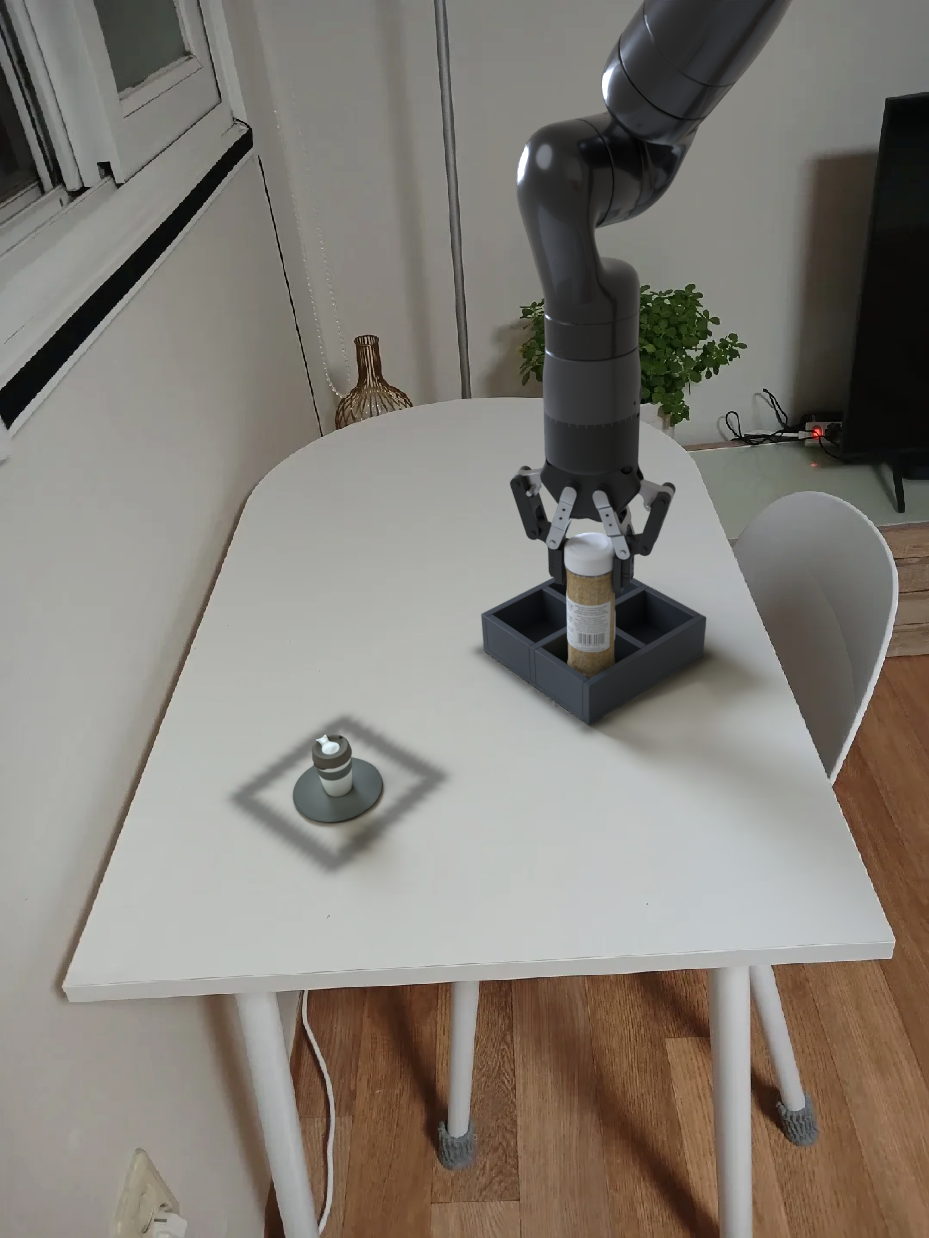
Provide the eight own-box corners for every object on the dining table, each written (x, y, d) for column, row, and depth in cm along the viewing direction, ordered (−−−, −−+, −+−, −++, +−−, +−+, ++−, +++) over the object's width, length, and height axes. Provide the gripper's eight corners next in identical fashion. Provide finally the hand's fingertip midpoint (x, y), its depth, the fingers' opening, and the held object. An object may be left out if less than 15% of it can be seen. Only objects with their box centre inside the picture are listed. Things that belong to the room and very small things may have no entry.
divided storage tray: (703, 655, 94) (706, 617, 91) (588, 725, 86) (589, 686, 84) (593, 592, 104) (594, 556, 101) (483, 650, 97) (480, 613, 94)
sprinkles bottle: (621, 657, 90) (623, 534, 83) (607, 686, 87) (608, 561, 79) (574, 648, 92) (573, 527, 84) (559, 676, 89) (556, 552, 81)
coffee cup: (335, 863, 75) (325, 820, 73) (241, 797, 82) (228, 755, 79) (436, 776, 82) (431, 734, 80) (342, 722, 89) (334, 681, 86)
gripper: (488, 412, 74) (500, 594, 84) (672, 429, 69) (661, 621, 79) (521, 377, 80) (528, 551, 89) (693, 390, 75) (681, 574, 84)
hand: (591, 583), depth 84 cm, fingers closed on sprinkles bottle, 4 cm apart
